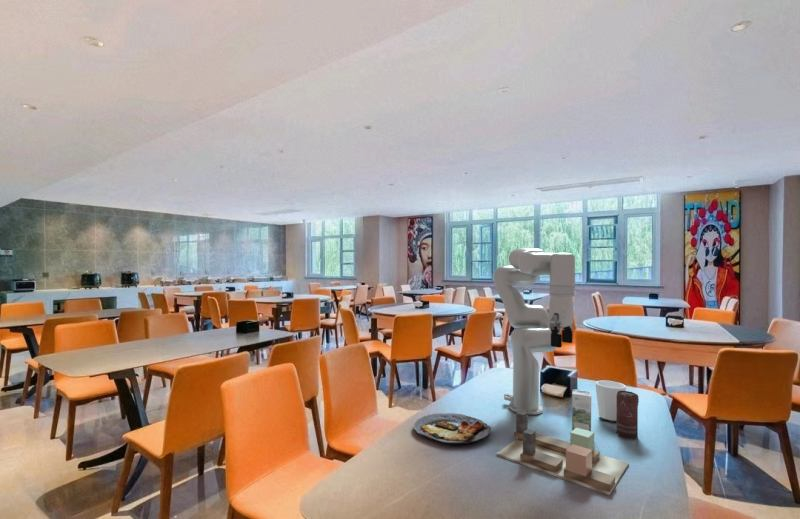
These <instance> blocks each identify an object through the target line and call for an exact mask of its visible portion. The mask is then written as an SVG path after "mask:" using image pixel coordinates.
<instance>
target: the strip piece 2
mask: <svg viewBox="0 0 800 519" xmlns="http://www.w3.org/2000/svg"><path fill="white" fill-rule="evenodd" d="M564 476H565V477H568V478H571V479H574V480H577V481H580V482H582V483H585V484H588V485H591V486H594V487H597V488H600V489H603V490H605V491H608V492H610V491H611V489H612V488H613V486H614V485H615V476H612V475H609V474H605V473H602V472H599V471H596V470H593V469H592V470H591V471H590V472H589V473H588V475H587V476H583V475H580V474H577V473H574V472H571V471H568V470H566V467H565V468H564Z"/></svg>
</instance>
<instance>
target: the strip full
mask: <svg viewBox="0 0 800 519" xmlns="http://www.w3.org/2000/svg"><path fill="white" fill-rule="evenodd" d="M527 429H528V415H527V412H523V411H519V412H517V413H516V412H515V431H514V432H513V438H514V439H520V440H523V432H524V431H525V430H527ZM536 445H539V446H543V447H546V448H549V449H552V450H555V451H559V452H562V453H565V454H566V450H567V449H568V448H569V447H570V442H569V441H566V440H563V439H559V438H556V437H553V436H550V435H549V436H548V435H545V434H543V433H540V432H536ZM600 453H601V452H600V450H596V449H594V450H593V451H592V462H594V463H595V461H596V460H597V459H598V458H599V457H600V455H601V454H600Z"/></svg>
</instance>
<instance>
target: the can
mask: <svg viewBox="0 0 800 519" xmlns="http://www.w3.org/2000/svg"><path fill="white" fill-rule="evenodd" d="M639 402H640V400H639V395H638V394H637V393H635V392H633V391H629V390H628V391H627V390H626V391H618V393H617V413H616V421H615V422H616V424H615V427H616V428H615V429H616V435H617V436H618V437H620V438H623V439H627V440H635V439H637V438H638V435H639V434H638V432H639V431H638V430H639V428H638V427H639V426H638V423H639V412H638V411H639V409H638V408H639Z"/></svg>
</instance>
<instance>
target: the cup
mask: <svg viewBox="0 0 800 519" xmlns="http://www.w3.org/2000/svg"><path fill="white" fill-rule="evenodd" d="M618 391H627V386H626V385H625V384H624V383H621V382H618V381H614V380H613V381H612V380H605V379H604V380H602V379H601V380H597V381H596V382H595V392H596V400H597V401H596V402H597V411H598V412H597V413H598V416H599V418H600V420H602V421H608V422H609V423H611V422H612V423H615V422H616V413H617V393H618Z"/></svg>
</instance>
